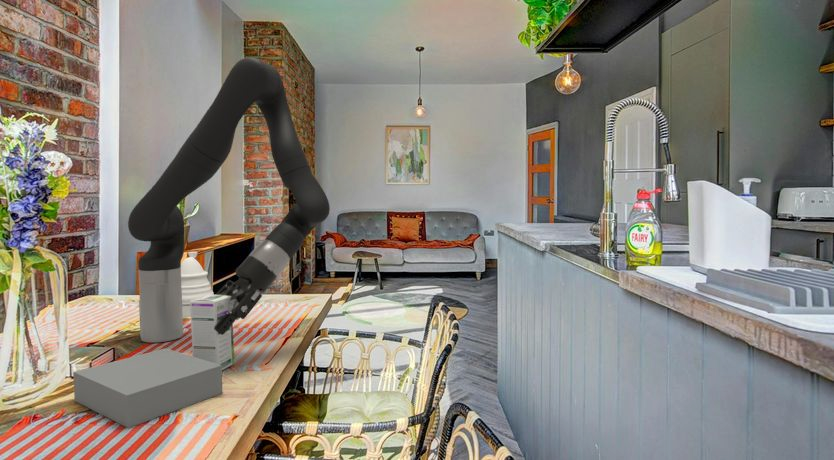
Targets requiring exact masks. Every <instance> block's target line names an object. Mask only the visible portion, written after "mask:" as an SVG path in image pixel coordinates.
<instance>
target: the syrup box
mask: <svg viewBox="0 0 834 460" xmlns="http://www.w3.org/2000/svg"><path fill="white" fill-rule="evenodd" d="M230 299H231V296H228V295H215V294H214V295H207V296H205V297H202V298H199V299H196V300H192V301H190V311H191V317H190V328H191V346H192V347H191V348H192V349H191V350H192V356H193V357H196V358H199V359H203V360H206V361H209V362H212V363H216V364H219V365H222V371H223V370H225V369H227V368H229V367H231V366H233V365H234V364H235V346H234V323H233V324H232V325H231V326H230V327H229V329H228V330H227V331H226V332H225V333H224V334H223V335H221V334H220V333H218V332H217V331H216V330H214V327H215V326H216V324H217V323H218V322H219V321H220V320H221V318H222V317H223V316H224V315H225V314H226V313H227V314H229V313H228V310H229V308H230V303H229V302H230Z"/></svg>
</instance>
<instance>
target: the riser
mask: <svg viewBox="0 0 834 460" xmlns="http://www.w3.org/2000/svg"><path fill="white" fill-rule="evenodd" d="M72 373H73V392H74V393H73V395H74V397H73V398H74V402H76V403H78V404H80V405H82V406H84V407H86V408H88V409H90V410H92V411H94V412H95V413H98V414H100V415H102V416H103V417H106V418H107V419H110V420H111V421H114V422H115V423H118V424H119V425H121V426H123V427H125V428H127V429H129V428H130V429H131V428H132V427H135V426H138V425H140V424H143V423H146V422H147V421H152V420H153V419H157V418H159V417H162V416H165V415H167V414H170V413H173V412H175V411H178V410H181V409H184V408H186V407H188V406H192V405H195V404H197V403H199V402H203V401H205V400H208V399H211V398H214V397H216V396H218V395H222V394H224V393H223V370H222V365H219V364H216V363H212V362H209V361H206V360H203V359H199V358H196V357H193V355H189V354H186V353H183V352H179V351H176V350H173V349H170V348H166V347H165V348H162V349H157V350H154V351H150V352H147V353H142V354H139V355H134V356H131V357H126V358H122V359H118V360H115V361H114V360H113V361H110V362H107V363H103V364H99V365H94V366H91V367H87V368H83V369H81V370H80V369H78V370H76V371H73V372H72ZM158 416H159V417H158ZM156 417H157V418H156Z"/></svg>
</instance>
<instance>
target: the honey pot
mask: <svg viewBox="0 0 834 460" xmlns="http://www.w3.org/2000/svg"><path fill="white" fill-rule="evenodd" d="M187 254H188V256H189V257H186V258H185V259H184V260H183V261H181V286H182V315H183V318H191V311H190V301H192V300H196V299H199V298H202V297H205V296H207V295H215V294H214V291H213V290H212V286H211V282H210V281H209V280H208V277H207V276H208V274H209V272H208V271H206V270H204V269H203V267H202V265H201V264H200V262H199V261H198V260H197V259H196V257H197V256H198V251H188V253H187Z"/></svg>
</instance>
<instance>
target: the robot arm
mask: <svg viewBox="0 0 834 460" xmlns="http://www.w3.org/2000/svg"><path fill="white" fill-rule="evenodd" d="M254 103H255V104H256V106H258V109H259V110H260V112H261V113H262V115H263V118H264V120H265V122H266V125H267V129H268V133H269V145H270V151H271V152H270V153H271V156H272V159H273V162H274V165H275V167H276V170H277V172H278V175H279V177H280V179H281V182H282V184H283V185H284V187H285V188H286V189H287V190H290V191H291V193H292V195H293V197H294V200H295V203H294V205H293V206H292V207H291V209H290V210H289V211H288V212H287V213H286V215H285V216H284V218H282V221H280V223H279V224H278V225H277V226H275V227H274V228H273V229H272V231H271V232H270V233H268V235H267V236H266V237H265V238H264V239H263V240H262V241H261V242H260V243H259V244H258V245H257V246H256V247H255V248H253V250H252V251H251V252H250V253H249V255H248V256H247V257H246V258H245V259H244V261H243V262H242V263H241V264H240V265H239V266H238V267H236V269H235V275H236V276H237V277H238V279H237V280H236V281H234V282H233V281H232V280H231V279H229V280H227V281H226V283H224V285H222V286H221V288H220V289H219V290H218V291H217V292H216V293H215V294H214V295H228V296H231V299H230V302H229V303H230V308H229V310H228V313H229V314H227V313H226V314H225V315H224V316H223V317H222V318H221V320H220V321H219V322H218V323H217V324H216V326H215V327H214V330H216V331H217V332H218V333H220V334H221V335H223V334H224V333H225V332H226V331H227V330H228V329H229V327H230V326H231V325H232V324H233V325H234V323H235V322H236V321H239V320H240V319H241V320H244V319H245V318H247V316H248V315H249V314H250V312H251V311H252V310H253V309H254V307H255V306H256V305H257V304H258V303H259V301H260V300H261V299H262V297H263V294H264V293H265V292H266V291H267V290H268V289H269V288H270V286H272V284H273V283H274V282H275V280H276V279H277V278H278V277H279V276H280V274H281V273H282V272H283V270H285V268H286V266H288V263H290V260H291V259H292V258H293V257H294V255H295V254H296V253H297V252H298V251H299V250H300V248H301V247H302V246H303V244H304V240H305V239H306V238H307V237H308V236H309V235H310V233H311V232H312V231H313V230H314V229H315V228H316V227H317V226H318V225H320V224H321V223H322V222H324V221H325V220H326V219H327V218H328V217H329V215H330V210H331V208H330V207H331V206H330V203H329V199H328V196H327V194H326V192H325V191H324V189H323V187H321V185H320V183H319V181H318V180H317V178H316V177H315V175H314V174H313V172H312V169H311V166H310V163H309V161H308V159H307V156H306V153H305V152H304V149H303V147H302V144H301V141H300V140H299V136H298V133H297V131H296V128H295V127H296V126H295V125H294V121H293V118H292V114H291V112H290V108H289V103H288V99H287V93H286V90H285V86H284V82H283V78H282V75H281V74H280V73H279V71H278V69H277V68H275V67H274V66H272V65H270V63H267V62H265V61H263V60H261V59H259V58H257V57H254V56H247V57H244V58H242V59H240V60H238V61H237V62H236V63H235V64H234V65H233V66H232V67H231V69H230V71H229V73H228V74H227V76H226V78H225V80H224V82H223V83H222V86H221V87H220V89H219V91H218V93H217V95H216V97H214V100H213V102H212V103H211V105H210V106H209V107H208V109H207V110H206V112H205V113H204V115H203V116H202V117H201V119H200V121H199V122H198V123H197V125H196V127H195V128H194V130H192V132H190V135H189V136H188V137H187V138H186V140H185V141H184V143H182V144H183V145H182V146H181V147H180V148H179V150H178V152H177V154H176V155H175V157H174V158H173V159H172V160H171V162H169V165H168V166H167V167H166V168H165V170H164V171H163V172H162V174H161V175H160V176H159V178H158V180H157V181H156V182H155V183H154V185H152V187H151V188H150V189H149V190H148V191H147V192H146V194H145V195H144V196H143V197H142V198H141V199H140V200H139V201H138V202H137V203H136V205H135V206H134V207H133V209H132V210H131V212H130V214H129V217H128V221H127V222H128V223H127V225H128V226H127V228H128V231H129V234H130V236H132V237H133V238H134V239H135V240H138V241H141V242H150V246H149V248H148V250H147V251H146V252H145V253H144V254H143V255H141V256H140V257H139V258H138V261H137V263H138V265H137V268H138V269H137V270H138V286H139V287H138V288H139V289H138V290H139V291H138V292H139V300H138V309H139V310H138V312H139V331H140V334H139V337H140V340H141V341H142V342H144V343H162V342H163V343H164V342H170V341H174V340H177V339H180V338H182V337H184V325H183V324H184V321H183V318H184V317H183V315H182V286H181V263H182V259H183V256H184V253H185V219H184V215H183V212H182V210H181V209H180V207H179V204H180V203H181V202H182V201H183V200H184V199H185V198H186V197H188V196H190V195H191V194H192V193H193V192H195V191H197V189H199V188H200V187H202V186H203V185H204V184H205V183H207V182H208V181H209V180H211V179H212V177H214V176H215V175H216V173H217V172H218V171H219V170H220V168H221V166H222V165H223V164H224V162H226V160H227V158H228V157H229V155H230V152H231V150H232V147H233V144H234V143H233V142H234V139H235V134H236V129H237V127H238V125H239V123H240V121H241V120H242V118H243V117H244V115H245V114H246V113H247V111H248V110H249V109H250V107H252V105H254Z"/></svg>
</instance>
